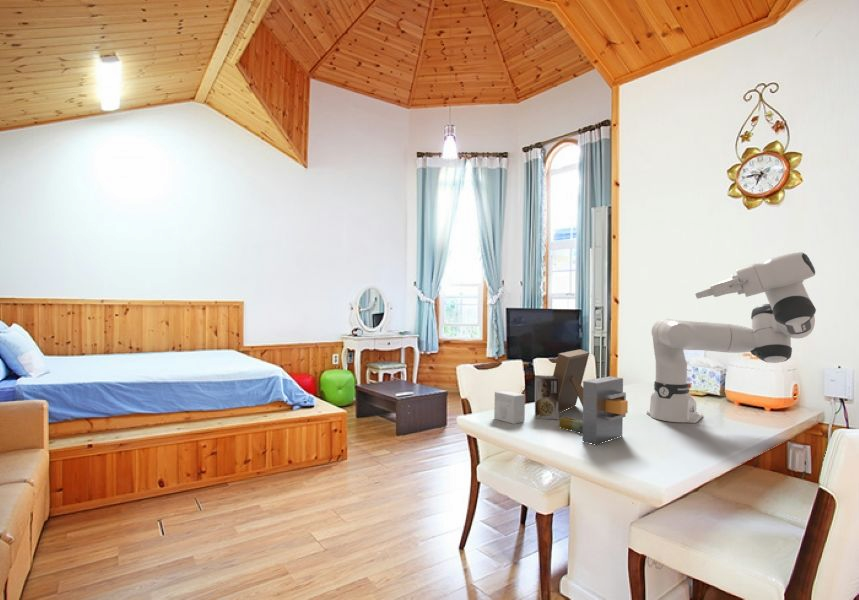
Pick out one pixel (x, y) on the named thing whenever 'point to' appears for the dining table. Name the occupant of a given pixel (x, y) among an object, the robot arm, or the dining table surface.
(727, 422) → the dining table surface
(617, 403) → the plunger
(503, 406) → the skincare box
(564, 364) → the photo frame
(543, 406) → the coffee box
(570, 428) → the medication box
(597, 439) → the panel
